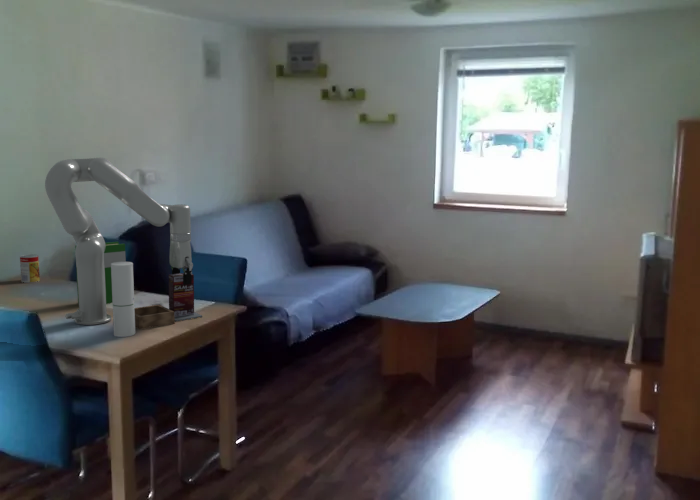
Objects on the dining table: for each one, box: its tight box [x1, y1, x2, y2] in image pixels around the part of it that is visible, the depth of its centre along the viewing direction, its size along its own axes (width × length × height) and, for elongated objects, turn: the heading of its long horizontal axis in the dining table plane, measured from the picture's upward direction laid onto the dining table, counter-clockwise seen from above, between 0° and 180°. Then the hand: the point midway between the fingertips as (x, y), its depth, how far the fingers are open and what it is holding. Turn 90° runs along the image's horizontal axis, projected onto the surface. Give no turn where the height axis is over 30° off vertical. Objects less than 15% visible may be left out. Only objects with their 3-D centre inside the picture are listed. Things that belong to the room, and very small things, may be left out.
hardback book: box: [74, 241, 127, 305], centre depth 282 cm, size 18×7×24 cm, turn 131°
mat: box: [175, 311, 203, 323], centre depth 263 cm, size 11×11×1 cm
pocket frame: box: [134, 304, 176, 330], centre depth 254 cm, size 13×13×4 cm
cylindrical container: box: [111, 261, 136, 338], centre depth 237 cm, size 7×7×25 cm
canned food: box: [19, 253, 41, 284], centre depth 320 cm, size 8×8×12 cm
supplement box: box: [168, 272, 195, 317], centre depth 262 cm, size 9×5×16 cm, turn 127°
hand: (181, 281), depth 261 cm, fingers open, 9 cm apart
